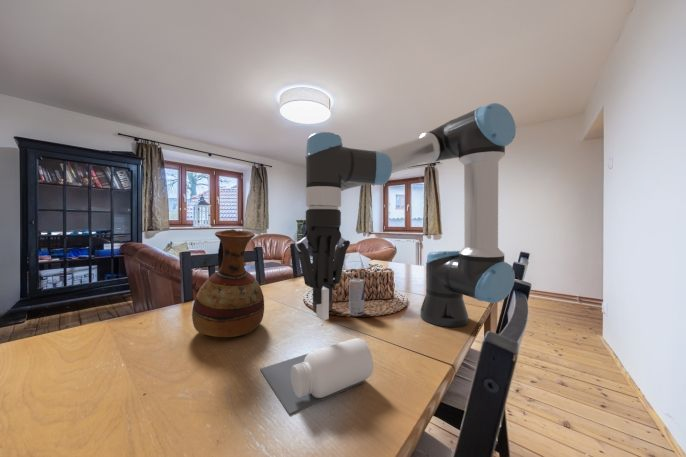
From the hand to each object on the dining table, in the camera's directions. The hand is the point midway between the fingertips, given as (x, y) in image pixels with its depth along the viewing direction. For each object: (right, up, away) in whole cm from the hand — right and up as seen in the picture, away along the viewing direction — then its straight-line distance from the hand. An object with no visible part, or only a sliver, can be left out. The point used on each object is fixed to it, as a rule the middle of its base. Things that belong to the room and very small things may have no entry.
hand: (322, 317), depth 57 cm
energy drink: (+9, -11, +36) cm, 39 cm away
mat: (-3, -12, -1) cm, 12 cm away
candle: (-3, -11, +40) cm, 41 cm away
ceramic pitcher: (-29, -11, +21) cm, 38 cm away
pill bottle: (+9, -8, -2) cm, 12 cm away
